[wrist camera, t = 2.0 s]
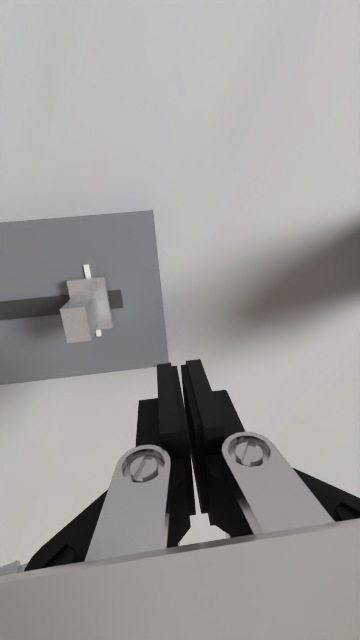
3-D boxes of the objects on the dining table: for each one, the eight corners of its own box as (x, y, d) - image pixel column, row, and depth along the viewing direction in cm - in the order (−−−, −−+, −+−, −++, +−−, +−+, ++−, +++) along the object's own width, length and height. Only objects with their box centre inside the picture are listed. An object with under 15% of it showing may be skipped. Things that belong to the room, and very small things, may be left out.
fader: (68, 279, 24) (45, 295, 19) (105, 275, 24) (92, 291, 19) (79, 328, 25) (59, 357, 20) (113, 325, 26) (103, 352, 20)
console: (-167, 237, 24) (-228, 240, 20) (152, 211, 25) (153, 209, 22) (-100, 387, 28) (-139, 412, 24) (167, 356, 30) (170, 375, 26)
